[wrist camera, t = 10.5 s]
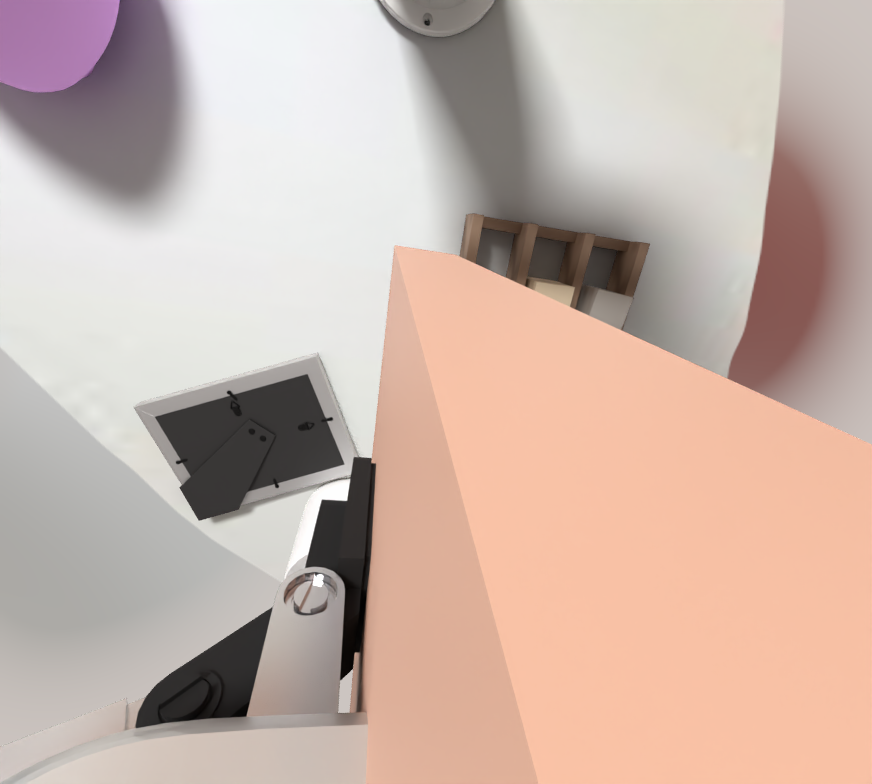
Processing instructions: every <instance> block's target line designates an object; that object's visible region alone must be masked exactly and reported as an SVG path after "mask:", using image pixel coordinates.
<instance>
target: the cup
mask: <svg viewBox="0 0 872 784" xmlns="http://www.w3.org/2000/svg"><path fill="white" fill-rule="evenodd" d="M349 484H350V479H342V480H337V481H333V482H330V483H327V484H325V485H323V486H321V487H320V488H319V489H317V490H316V491H315V492H314V493H313V494H312V495H311V496H310V498H309V500H308V502H307V503H306V506H305V509H304V512H303V515H302V519H301V522H300V525H299V529H298V532H297V536H296V539H295V542H294V546H293V549H292V552H291V556H290V559H289V562H288V566H287V569H286V572H285V576H284V580H285V579H286V577H288V576H289V575H291V574H292V573H294V572H296V571H298V570H301V569H304V568H305V565H306V561H307V557H308V553H309V549H310V545H311V540H312V536H313V532H314V528H315V524H316V520H317V516H318V512H319V508H320V504H321V501H322V499H323V500H341V501H347V497H348V491H349Z"/></svg>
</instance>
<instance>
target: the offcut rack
mask: <svg viewBox="0 0 872 784" xmlns="http://www.w3.org/2000/svg"><path fill="white" fill-rule="evenodd" d="M482 228H486V229H492V230H498V231H504V232H510V233H515V235H514V240H513V245H512V250H511V254H510V259H509V264H508V269H507V274H506V278H508V279H510V280H512V281H514V282H516V283H519V284H521V285H523V286H525V284H526V279H527V275H528V270H529V266H530V261H531V257H532V252H533V248H534V244H535V239H536V237H540V238H546V239H552V240H558V241H564V242H567V245H566V249H565V253H564V257H563V261H562V265H561V269H560V273H559V277H558V281H557V282H560V283H563V284H566V285H569V286H572V287H575V289H574V293H573V297H572V301H571V304H570V307H571V308H573V309H575V308H576V304H577V301H578V297H579V294H580V290H581V286H582V283H583V279H584V275H585V272H586V268H587V264H588V261H589V257H590V253H591V250H592V246H594V247H600V248H606V249H612V250H618V251H617V254H616V257H615V261H614V264H613V267H612V271H611V274H610V278H609V281H608V284H607V288H606V290H609V291H612V292H616V293H619V294H623V295H626V296H629V297H633V295H634V292H635V289H636V286H637V283H638V280H639V277H640V273H641V270H642V267H643V264H644V261H645V258H646V255H647V252H648V249H649V246H650V244H648V243H642V242H629V241H624V240H618V239H612V238H606V237H600V236H595V235H596V234H590V233H577V232H571V231H565V230H559V229H554V228H548V227H542V226H539V225H537V224H532V223H519V222H513V221H507V220H501V219H495V218H490V217H484V215H479V214H468V215H466V220H465V227H464V233H463V239H462V245H461V251H460V257H462V258H464V259H466V260H468V261H470V262H473V263H475V264H476V258H477V252H478V247H479V241H480V236H481V230H482ZM626 317H627V316H626ZM625 320H626V319H625ZM624 323H625V321H624ZM623 326H624V324H623ZM623 326H622V329H623ZM622 329H621V330H622Z"/></svg>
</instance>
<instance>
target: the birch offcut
mask: <svg viewBox="0 0 872 784" xmlns="http://www.w3.org/2000/svg"><path fill="white" fill-rule="evenodd" d="M525 287H527V288H530V289H532V290H534V291H536V292H538V293H541V294H543V295H545V296H547V297H549V298H551V299H554V300H556V301H558V302H560V303H562V304H565V305H567V306H569V307H570V304H571V301H572V297H573V293H574V289H575V287H572V286H569V285H566V284H563V283H560V282H557V281H554V280H549V279H542V278H535V277H528V276H527V279H526V284H525Z"/></svg>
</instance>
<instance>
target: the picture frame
mask: <svg viewBox="0 0 872 784" xmlns="http://www.w3.org/2000/svg"><path fill="white" fill-rule="evenodd" d="M134 409H135V410H136V412H137V414H138V415H139V417H140V419H141V420H142V422H143V423H144V425H145V427H146V428H147V430H148V431H149V433H150V435H151V436H152V438H153V439H154V441H155V443H156V444H157V446H158V447H159V449H160V451H161V452H162V454H163V455H164V457H165V459H166V460H167V462H168V463H169V465H170V467H171V468H172V470H173V472H174V473H175V475H176V476H177V478H178V480H179V481H180V483H181V484H182V486H181V487H180V489H181V491H182V493H183V494H184V496H185V498H186V500H187V501H188V503H189V505H190V506H191V508H192V510H193V511H194V513H195V515H196V516H197V518H198V520H203V519H207V518H210V517H214V516H217V515H221V514H224V513H228V512H231V511H235V510H238V509H239V507H240V506H241V505H244V504H248V503H252V502H255V501H259V500H262V499H266V498H269V497H273V496H276V495H280V494H284V493H287V492H291V491H294V490H298V489H301V488H305V487H308V486H312V485H316V484H319V483H323V482H326V481H330V480H333V479H337V478H340V477H344V476H348V475H351V471H352V464H353V458H354V457H358V454H357V452H356V449H355V447H354V444H353V442H352V439H351V436H350V434H349V431H348V429H347V426H346V424H345V421H344V419H343V416H342V413H341V411H340V408H339V406H338V403H337V401H336V398H335V396H334V393H333V390H332V388H331V385H330V383H329V380H328V378H327V375H326V373H325V370H324V367H323V365H322V362H321V360H320V357H319V355H318V353H314V354H311V355H307V356H303V357H300V358H296V359H293V360H289V361H286V362H282V363H278V364H275V365H271V366H268V367H264V368H260V369H257V370H253V371H250V372H246V373H243V374H239V375H235V376H232V377H228V378H225V379H221V380H217V381H214V382H210V383H207V384H203V385H199V386H196V387H192V388H189V389H185V390H182V391H178V392H174V393H171V394H167V395H164V396H160V397H156V398H153V399H149V400H146V401H142V402H140V403H139V404H137V405H136V406H134Z"/></svg>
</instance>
